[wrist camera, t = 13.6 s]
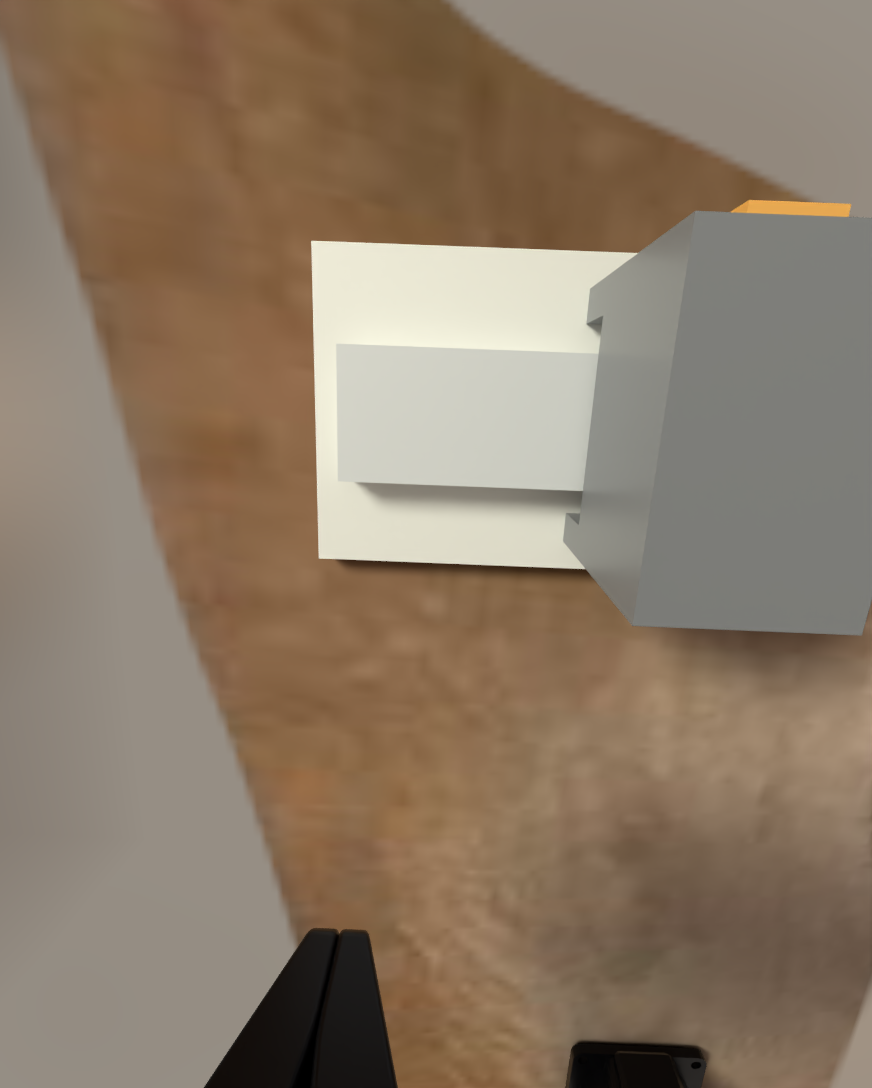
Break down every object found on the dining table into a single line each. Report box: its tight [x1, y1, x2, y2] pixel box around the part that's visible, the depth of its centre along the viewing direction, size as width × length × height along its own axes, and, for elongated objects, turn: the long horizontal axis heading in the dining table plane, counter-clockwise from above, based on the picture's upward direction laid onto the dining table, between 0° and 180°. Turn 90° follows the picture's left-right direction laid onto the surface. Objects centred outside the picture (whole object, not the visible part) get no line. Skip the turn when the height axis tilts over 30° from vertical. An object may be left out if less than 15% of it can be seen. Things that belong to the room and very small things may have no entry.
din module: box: [563, 200, 872, 635], centre depth 14 cm, size 9×5×7 cm, turn 178°
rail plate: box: [311, 241, 638, 569], centre depth 17 cm, size 10×22×2 cm, turn 88°
